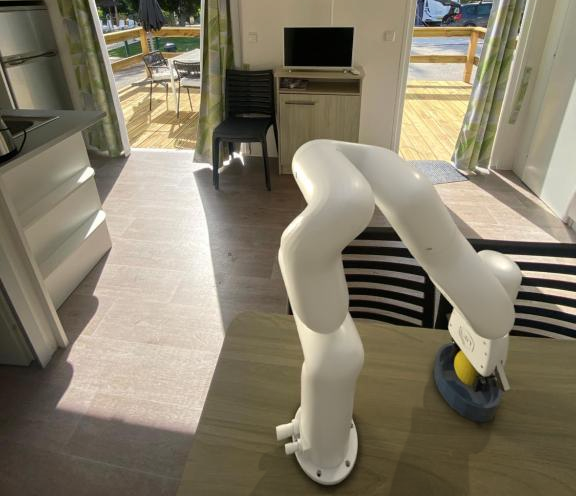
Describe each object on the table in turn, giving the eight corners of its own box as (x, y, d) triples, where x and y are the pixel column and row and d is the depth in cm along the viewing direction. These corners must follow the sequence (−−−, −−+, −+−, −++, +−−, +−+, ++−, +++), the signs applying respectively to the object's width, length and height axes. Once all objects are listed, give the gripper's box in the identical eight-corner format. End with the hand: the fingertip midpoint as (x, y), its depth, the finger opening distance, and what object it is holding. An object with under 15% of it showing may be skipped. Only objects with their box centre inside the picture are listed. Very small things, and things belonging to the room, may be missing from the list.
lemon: (484, 398, 62) (493, 372, 59) (456, 392, 63) (462, 366, 60) (474, 369, 67) (481, 344, 64) (448, 363, 68) (454, 339, 65)
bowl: (461, 431, 59) (465, 415, 57) (422, 364, 70) (425, 349, 68) (511, 414, 61) (517, 398, 60) (465, 352, 72) (469, 337, 71)
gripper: (438, 278, 65) (426, 336, 71) (509, 362, 50) (486, 428, 55) (467, 272, 67) (453, 329, 73) (544, 351, 51) (519, 417, 57)
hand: (468, 371), depth 64 cm, fingers closed on lemon, 5 cm apart
